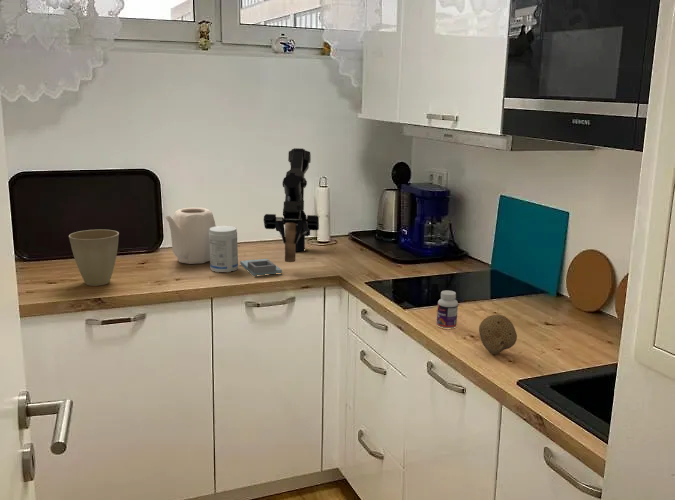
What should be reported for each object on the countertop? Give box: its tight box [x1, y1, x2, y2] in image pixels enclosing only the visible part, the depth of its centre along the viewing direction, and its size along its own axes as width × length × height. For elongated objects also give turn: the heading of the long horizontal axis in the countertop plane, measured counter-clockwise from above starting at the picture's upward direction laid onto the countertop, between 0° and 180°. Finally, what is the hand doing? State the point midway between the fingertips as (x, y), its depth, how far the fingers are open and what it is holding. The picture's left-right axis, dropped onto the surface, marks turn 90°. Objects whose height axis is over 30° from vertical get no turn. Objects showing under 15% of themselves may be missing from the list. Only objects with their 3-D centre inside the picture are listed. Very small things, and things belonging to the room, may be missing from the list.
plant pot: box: [68, 229, 120, 287], centre depth 217 cm, size 15×15×16 cm
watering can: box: [165, 207, 217, 265], centre depth 244 cm, size 16×27×19 cm, turn 154°
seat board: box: [239, 258, 283, 277], centre depth 237 cm, size 17×10×4 cm, turn 24°
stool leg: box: [284, 223, 297, 263], centre depth 232 cm, size 4×4×13 cm
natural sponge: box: [478, 314, 518, 355], centre depth 167 cm, size 9×9×10 cm
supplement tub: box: [209, 225, 239, 273], centre depth 235 cm, size 10×10×15 cm
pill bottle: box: [436, 290, 459, 329], centre depth 185 cm, size 5×5×10 cm
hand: (289, 243), depth 230 cm, fingers closed on stool leg, 4 cm apart
